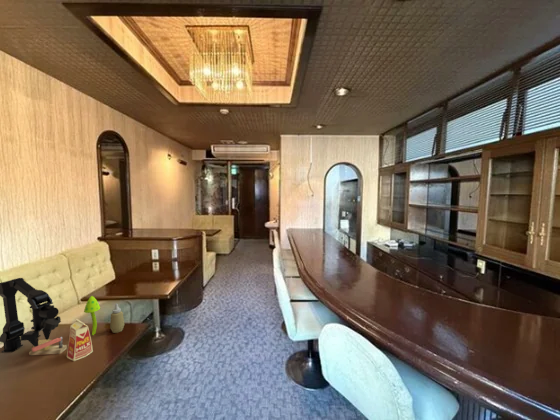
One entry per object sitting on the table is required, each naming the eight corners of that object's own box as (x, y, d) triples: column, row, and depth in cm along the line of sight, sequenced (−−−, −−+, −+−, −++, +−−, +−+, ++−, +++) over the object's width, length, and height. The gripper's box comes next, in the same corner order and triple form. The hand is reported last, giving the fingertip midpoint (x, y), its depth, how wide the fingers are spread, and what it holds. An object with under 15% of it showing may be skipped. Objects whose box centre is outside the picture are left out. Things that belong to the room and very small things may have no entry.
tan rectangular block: (33, 351, 145) (33, 344, 145) (40, 346, 149) (39, 339, 149) (45, 350, 146) (44, 343, 145) (51, 346, 150) (51, 339, 150)
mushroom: (81, 337, 162) (79, 298, 161) (92, 330, 170) (90, 293, 169) (95, 338, 162) (93, 298, 160) (104, 331, 170) (102, 293, 169)
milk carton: (66, 357, 143) (64, 321, 142) (85, 348, 151) (83, 314, 150) (75, 362, 139) (73, 325, 137) (94, 352, 147) (92, 317, 146)
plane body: (28, 355, 145) (28, 344, 144) (36, 350, 150) (35, 339, 149) (60, 353, 146) (59, 342, 146) (67, 348, 151) (66, 337, 151)
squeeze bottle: (127, 328, 174) (126, 301, 173) (118, 334, 166) (117, 306, 165) (116, 327, 175) (115, 301, 174) (107, 333, 167) (105, 306, 166)
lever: (33, 351, 137) (33, 349, 137) (32, 351, 138) (31, 348, 138) (63, 339, 149) (62, 337, 148) (61, 339, 149) (61, 336, 149)
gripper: (42, 323, 134) (44, 352, 136) (67, 307, 153) (69, 333, 154) (18, 325, 133) (21, 354, 135) (47, 308, 152) (49, 334, 153)
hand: (42, 343), depth 144 cm, fingers open, 7 cm apart
